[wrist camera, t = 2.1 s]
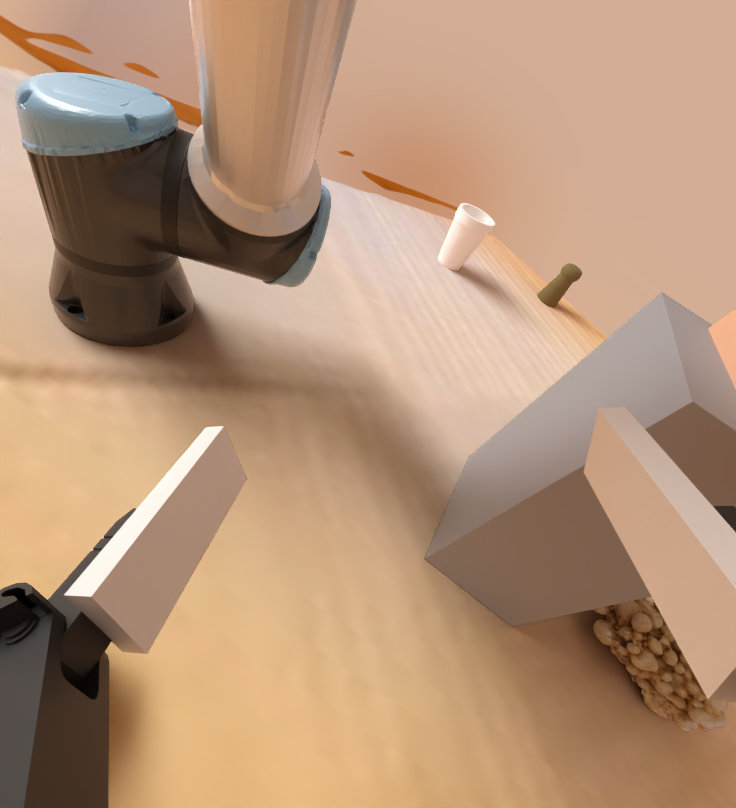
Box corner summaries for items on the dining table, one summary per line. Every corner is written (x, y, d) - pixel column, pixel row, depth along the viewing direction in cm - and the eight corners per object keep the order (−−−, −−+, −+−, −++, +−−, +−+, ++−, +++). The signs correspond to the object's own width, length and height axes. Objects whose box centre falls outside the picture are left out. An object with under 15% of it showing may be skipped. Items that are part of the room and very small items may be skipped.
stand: (512, 626, 40) (899, 541, 18) (424, 558, 41) (692, 401, 19) (536, 506, 52) (783, 371, 31) (468, 456, 53) (661, 291, 32)
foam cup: (442, 249, 97) (469, 201, 88) (469, 269, 96) (499, 222, 86) (426, 256, 91) (454, 205, 81) (455, 277, 89) (487, 228, 80)
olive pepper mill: (534, 294, 102) (563, 260, 94) (543, 292, 106) (571, 259, 98) (549, 308, 100) (580, 275, 92) (558, 305, 104) (589, 273, 96)
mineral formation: (674, 746, 38) (564, 646, 40) (651, 632, 49) (565, 556, 50) (761, 742, 33) (633, 627, 35) (715, 616, 44) (618, 532, 45)
